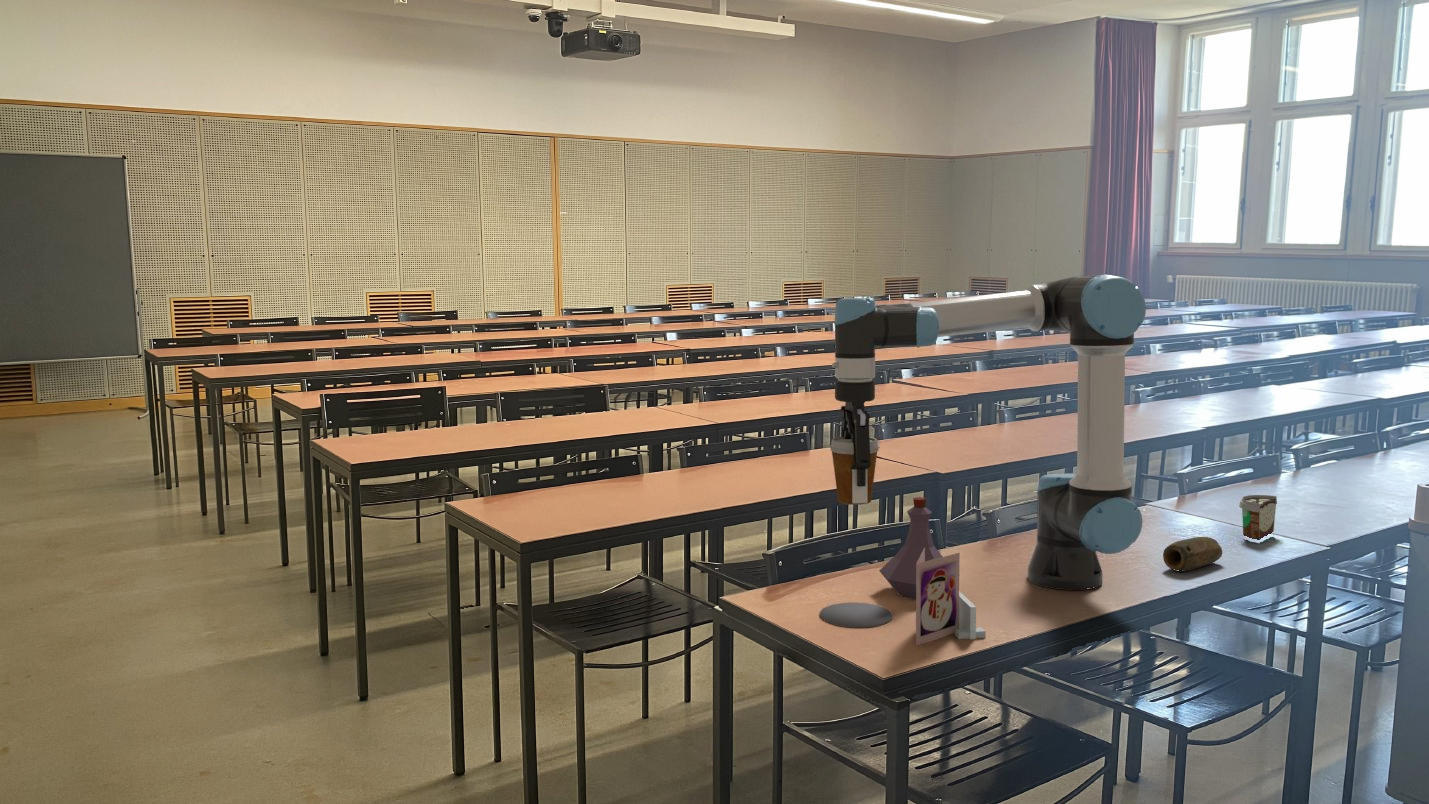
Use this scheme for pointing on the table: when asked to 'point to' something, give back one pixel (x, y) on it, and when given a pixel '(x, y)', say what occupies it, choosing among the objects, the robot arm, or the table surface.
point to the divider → (968, 620)
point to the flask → (911, 552)
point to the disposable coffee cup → (843, 473)
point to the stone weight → (1192, 553)
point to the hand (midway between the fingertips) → (854, 497)
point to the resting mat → (856, 615)
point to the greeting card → (937, 597)
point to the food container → (1258, 515)
